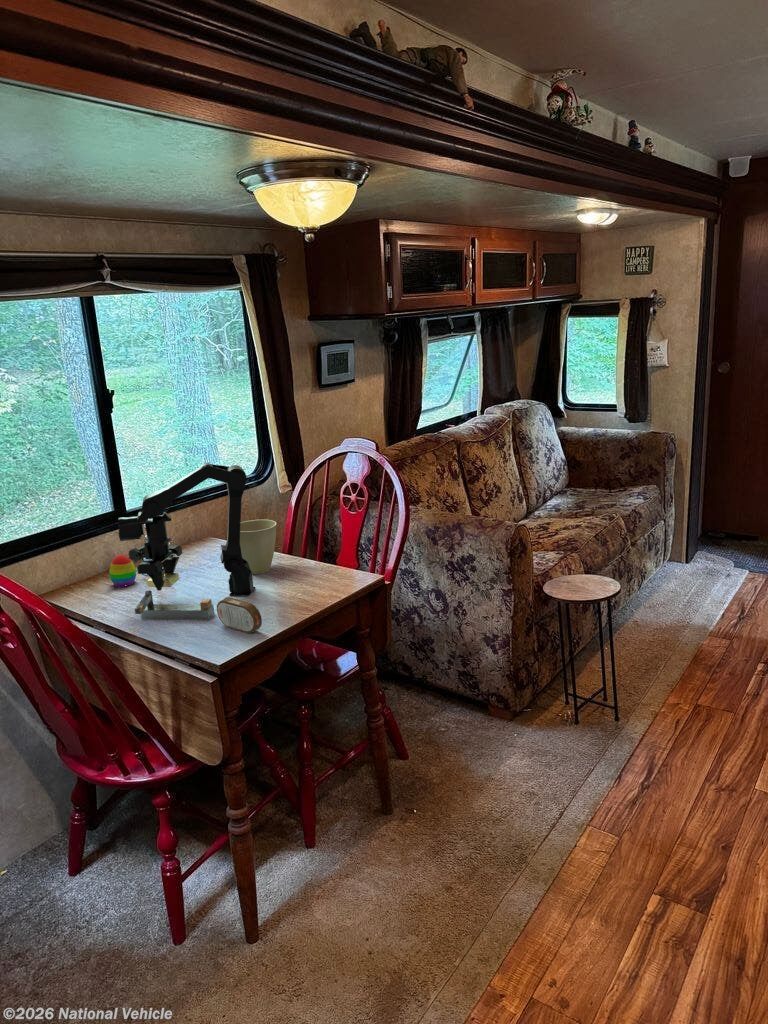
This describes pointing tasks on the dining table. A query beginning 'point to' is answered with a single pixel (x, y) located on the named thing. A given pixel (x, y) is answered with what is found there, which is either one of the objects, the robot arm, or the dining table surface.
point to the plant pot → (258, 544)
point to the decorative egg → (122, 571)
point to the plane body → (180, 611)
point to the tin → (239, 615)
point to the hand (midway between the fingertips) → (164, 586)
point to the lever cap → (166, 580)
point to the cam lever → (144, 603)
